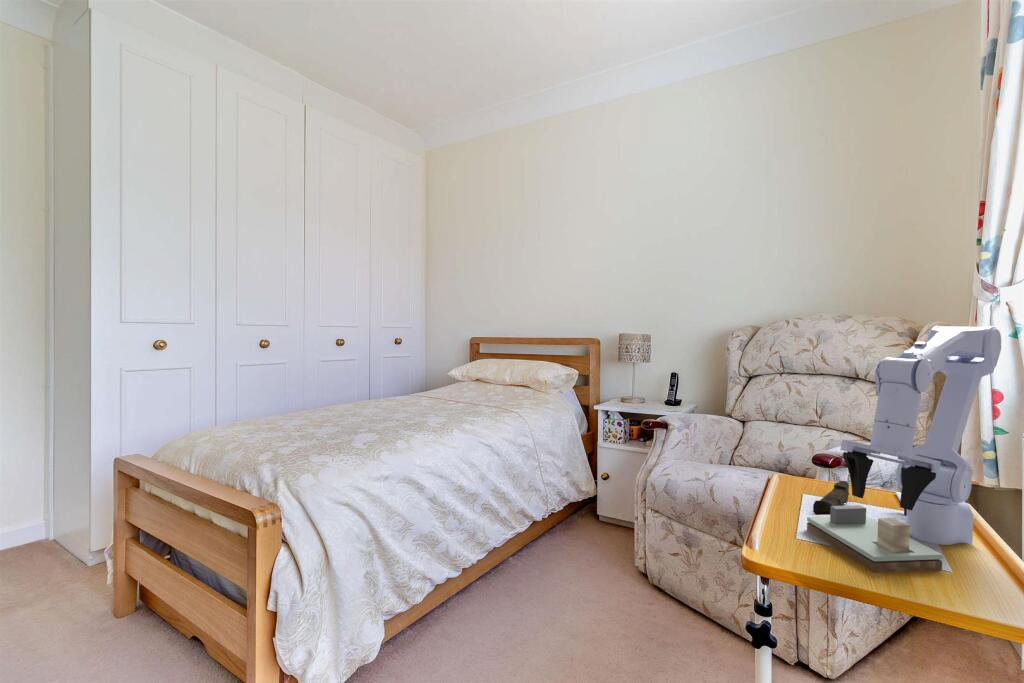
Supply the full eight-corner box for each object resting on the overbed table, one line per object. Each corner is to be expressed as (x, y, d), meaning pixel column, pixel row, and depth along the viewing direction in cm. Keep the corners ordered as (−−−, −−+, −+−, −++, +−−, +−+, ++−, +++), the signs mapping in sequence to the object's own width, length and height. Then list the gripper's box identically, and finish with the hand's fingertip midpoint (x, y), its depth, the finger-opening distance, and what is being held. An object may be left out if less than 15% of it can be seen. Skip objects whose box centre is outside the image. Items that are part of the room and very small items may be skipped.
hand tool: (833, 522, 102) (834, 500, 102) (812, 516, 105) (813, 495, 105) (859, 501, 114) (860, 482, 114) (839, 496, 118) (840, 477, 117)
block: (892, 557, 83) (894, 517, 83) (908, 566, 80) (909, 525, 80) (876, 557, 83) (878, 518, 83) (891, 566, 80) (893, 525, 80)
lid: (864, 519, 95) (865, 500, 95) (942, 559, 79) (943, 536, 79) (807, 520, 94) (807, 501, 94) (874, 561, 78) (874, 538, 78)
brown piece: (864, 535, 95) (864, 520, 95) (941, 578, 79) (942, 560, 79) (806, 537, 94) (807, 522, 94) (873, 581, 78) (874, 563, 78)
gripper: (861, 415, 81) (848, 496, 80) (958, 437, 78) (945, 520, 77) (840, 414, 88) (827, 488, 87) (928, 434, 85) (916, 510, 84)
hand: (881, 502), depth 82 cm, fingers open, 7 cm apart
